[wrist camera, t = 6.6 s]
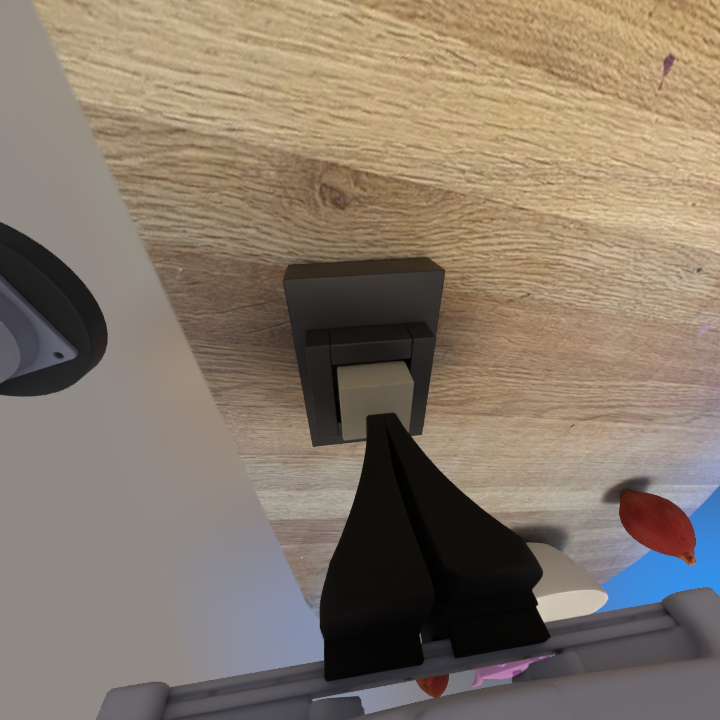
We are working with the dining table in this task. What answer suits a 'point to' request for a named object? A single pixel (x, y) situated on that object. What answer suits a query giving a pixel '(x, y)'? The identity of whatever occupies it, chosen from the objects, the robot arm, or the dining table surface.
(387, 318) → the switch plate
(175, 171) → the dining table surface
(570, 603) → the bowl
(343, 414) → the switch
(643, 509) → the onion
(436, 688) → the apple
